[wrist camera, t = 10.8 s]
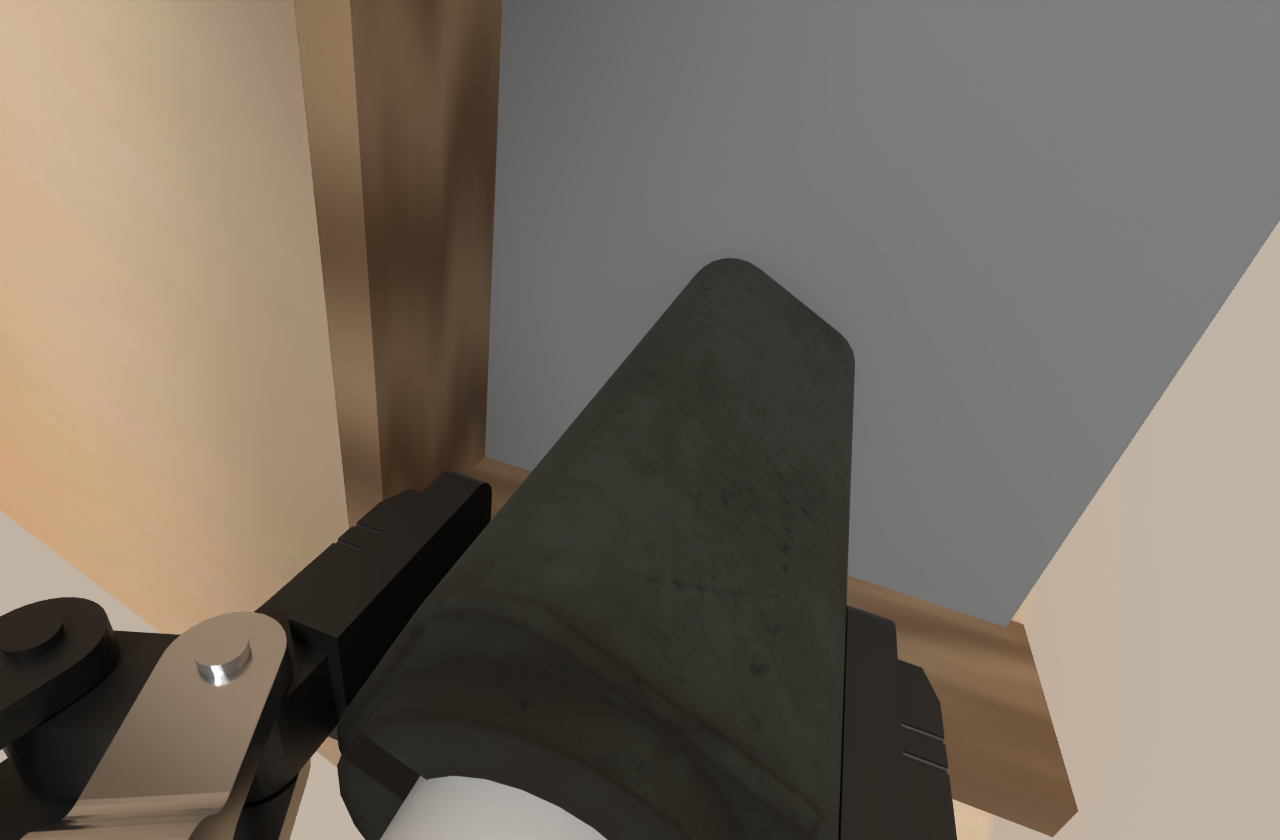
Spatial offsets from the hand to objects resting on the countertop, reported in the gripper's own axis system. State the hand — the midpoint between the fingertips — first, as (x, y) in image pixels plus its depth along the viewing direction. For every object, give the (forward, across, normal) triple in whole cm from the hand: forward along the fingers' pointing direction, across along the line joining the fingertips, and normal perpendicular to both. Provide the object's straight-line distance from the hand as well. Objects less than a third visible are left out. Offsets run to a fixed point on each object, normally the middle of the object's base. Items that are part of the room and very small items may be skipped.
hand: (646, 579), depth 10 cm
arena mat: (+10, -1, -3) cm, 10 cm away
